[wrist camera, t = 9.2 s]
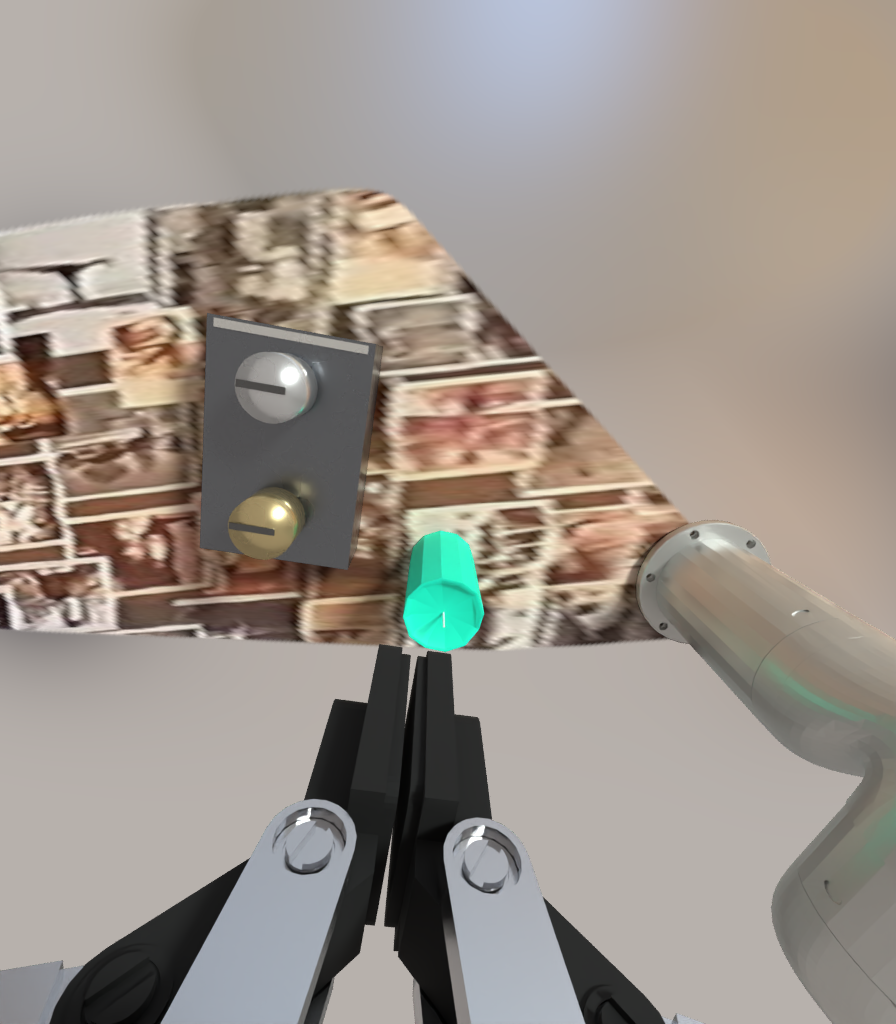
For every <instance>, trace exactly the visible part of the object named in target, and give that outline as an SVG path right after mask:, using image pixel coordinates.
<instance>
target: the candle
mask: <svg viewBox="0 0 896 1024" xmlns="http://www.w3.org/2000/svg"><path fill="white" fill-rule="evenodd" d="M483 616H484V610H483V605H482V600H481V595H480V590H479V585H478V580H477V575H476V570H475V564H474V559H473V556H472V553H471V550H470V547H469V544H468V543H466V542H465V541H464V540H463V539H462V538H461V537H459V536H458V535H457V534H454V533H449V532H444V531H438V532H434V533H431V534H428V535H425V536H423V537H422V538H421V540H420V541H419V542H418V543H417V544H416V545H415V546H414V547H413V550H412V555H411V559H410V565H409V573H408V581H407V589H406V597H405V605H404V613H403V619H404V622H405V625H406V628H407V631H408V634H409V637H411V638H412V639H413V640H415V641H416V642H418V643H419V644H421V645H422V646H423V647H425V648H429V649H434V650H439V651H444V652H446V651H450V650H453V649H456V648H459V647H462V646H465V645H466V644H467V643H468V642H469V640H470V639H471V638H472V637H473V636H474V635H475V633H476V632H477V631H478V630H479V628H480V625H481V622H482V619H483Z"/></svg>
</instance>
